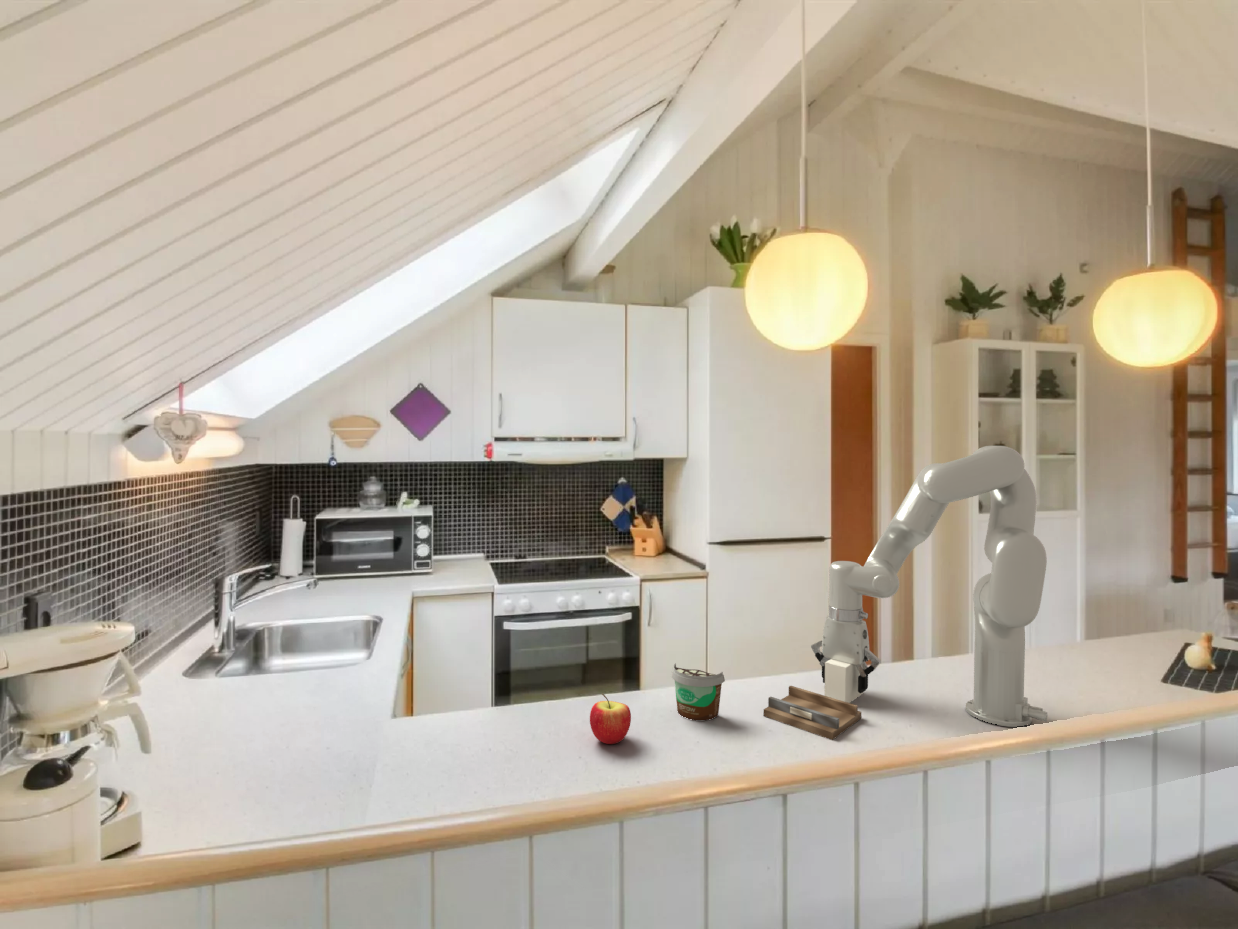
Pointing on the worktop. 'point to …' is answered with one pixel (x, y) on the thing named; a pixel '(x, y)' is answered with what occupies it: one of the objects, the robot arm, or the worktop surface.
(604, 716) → the apple
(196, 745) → the worktop surface
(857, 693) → the box
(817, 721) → the shelf
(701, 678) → the food container
